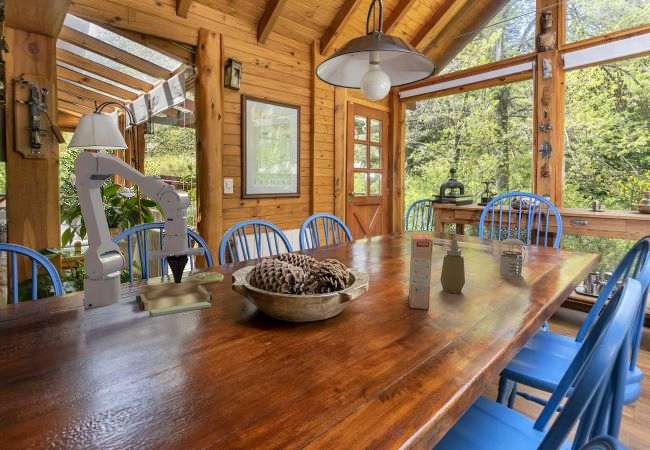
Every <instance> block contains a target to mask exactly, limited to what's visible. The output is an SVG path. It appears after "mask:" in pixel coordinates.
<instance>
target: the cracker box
mask: <svg viewBox="0 0 650 450" xmlns="http://www.w3.org/2000/svg"><path fill="white" fill-rule="evenodd" d="M410 241H411V243H410V262H409V263H410V264H409V265H410V266H409V283H408V284H409V285H408V301H409V308H410V309H416V310H429V309H430V293H431V278H432V277H431V276H432V261H433V260H432V259H433V258H432V256H433V242H434V239H433V238H432V236H431V235H430V233H423V232H422V233H421V232H417V233H416V232H413V233H411V240H410Z"/></svg>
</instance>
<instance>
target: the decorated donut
mask: <svg viewBox="0 0 650 450" xmlns="http://www.w3.org/2000/svg"><path fill="white" fill-rule="evenodd" d="M224 277H225V276H224V275H223V274H222V273H220V272H218V271H217V272H216V271H206V272H199V273H196V274H194V276H192V279H200V285H209V284H217V283H221V282H224V279H225V278H224Z"/></svg>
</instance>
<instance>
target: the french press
mask: <svg viewBox="0 0 650 450" xmlns="http://www.w3.org/2000/svg"><path fill="white" fill-rule="evenodd" d="M511 217H512V218H513V221H515V220H516V219H515V218H518V215H517V214H516V213H513V214H512V215H511ZM512 228H513V230H512V235H514V232H515V225H513V227H512ZM501 243H502V244H504V245H509V246H511V250H503V251H501V253H502V254H501V255H500V259H499V260H500V265H499V273H497V274H496V276H497V277H498V276H499V278H501V279H506V280H516V281H517V280H523V279H524V278H525V277H524V276H523V275H522V268H523V262H524V261H525V258H526V254H524V256H522V255H523V251H522V249H524V251H526V249H525V246H524V245H525V243H524V242H523V241H522V240H520V239H518V238H514V237H512V238H506V239H503V240H502V241H501ZM513 246H516V248H517V249H518V250H520V251H515V250H513V248H514V247H513Z"/></svg>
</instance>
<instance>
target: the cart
mask: <svg viewBox="0 0 650 450" xmlns="http://www.w3.org/2000/svg"><path fill="white" fill-rule="evenodd" d="M211 300H213V294H212V292H211V291H210V292H208V291H207V288H206V287H205V286H202V285H201V284H200V279H193V278H192V279H184V280H181V283H178V284H175V282H174V281H169V282H161V283H152V284H146V285H145V284H144V285H138V295H136V296H135V301H136V304H138V309H139V310H140V311H144V312H146V311H150V310H154V309H160V308H167V307H173V306H180V305H186V304H192V303H199V302H205V301H206V302H208V301H211Z"/></svg>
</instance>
